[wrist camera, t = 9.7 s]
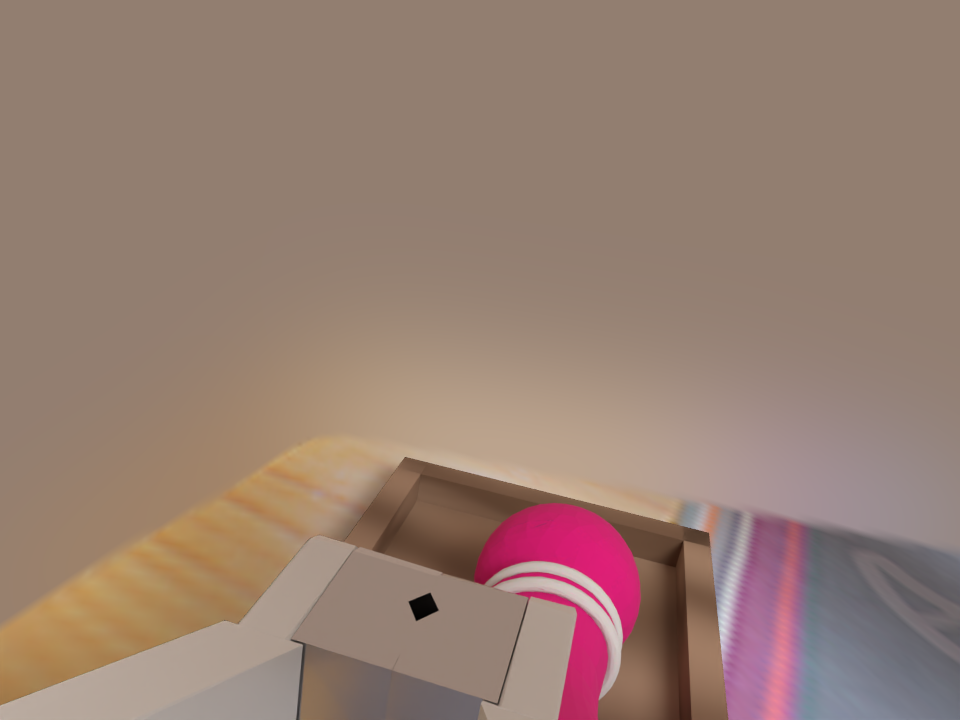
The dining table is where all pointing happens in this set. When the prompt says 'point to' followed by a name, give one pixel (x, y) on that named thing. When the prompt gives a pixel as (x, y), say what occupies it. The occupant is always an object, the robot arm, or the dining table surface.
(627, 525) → the walnut tray
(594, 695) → the pepper mill
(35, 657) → the dining table surface
